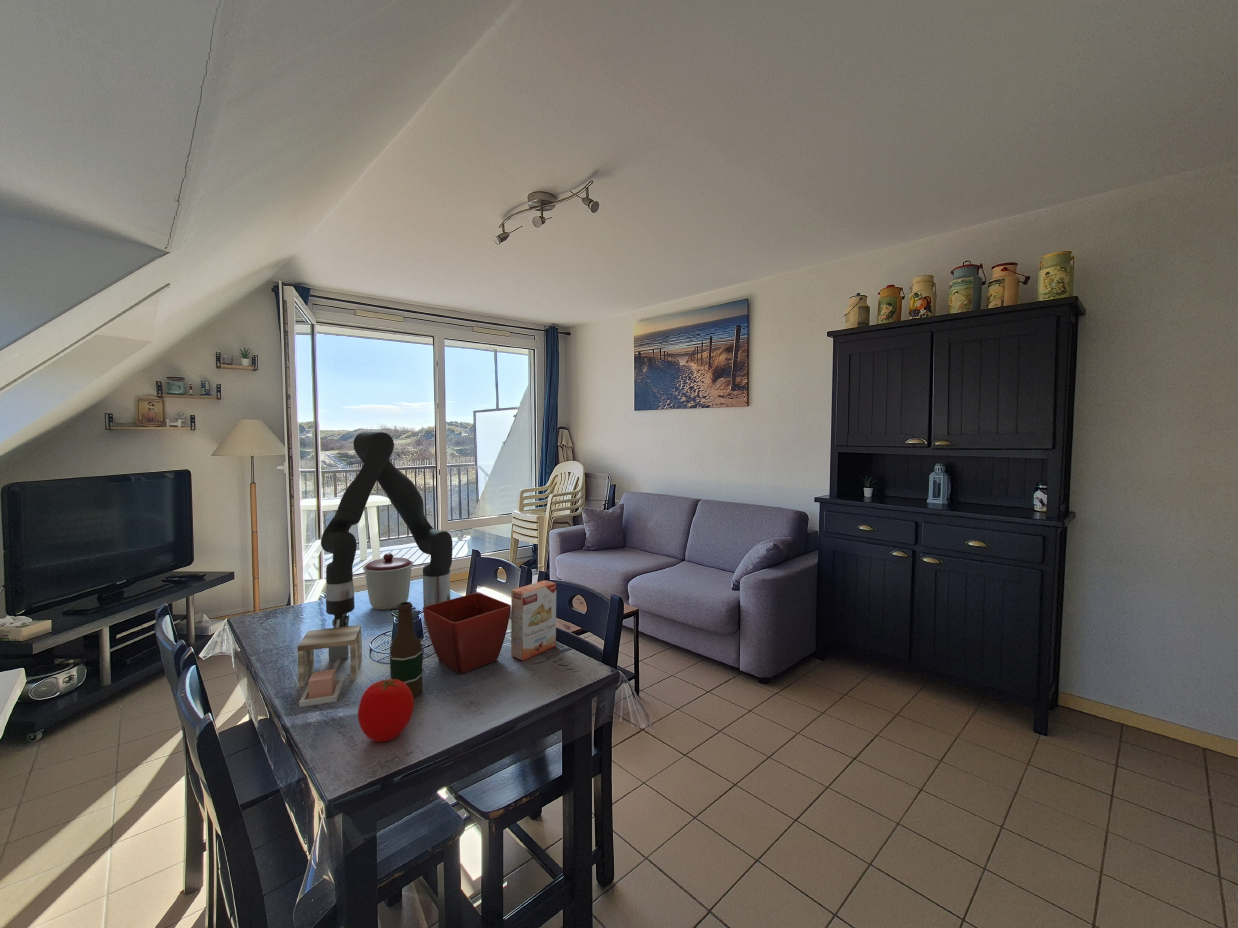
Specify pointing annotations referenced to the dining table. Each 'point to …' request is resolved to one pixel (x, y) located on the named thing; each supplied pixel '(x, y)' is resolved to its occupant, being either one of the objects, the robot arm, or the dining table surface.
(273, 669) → the dining table surface
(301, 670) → the tunnel
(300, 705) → the grey elongated piece
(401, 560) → the canister
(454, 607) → the plant pot
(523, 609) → the cracker box
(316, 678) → the coral block
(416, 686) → the beer bottle
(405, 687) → the tomato
